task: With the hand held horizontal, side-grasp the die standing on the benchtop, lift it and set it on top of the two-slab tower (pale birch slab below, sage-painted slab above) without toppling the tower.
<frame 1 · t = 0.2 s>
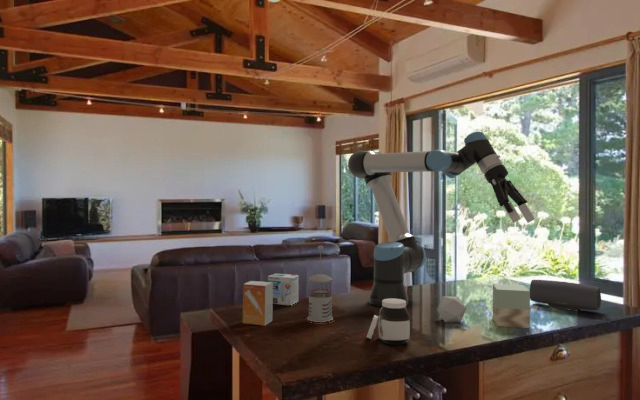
hand: (524, 220, 157), 34 cm above the counter, tool tilted 30°, fingers open, 13 cm apart
die: (451, 321, 154), on the counter
tower base: (510, 323, 153), on the counter, touching tower top
small box: (257, 323, 151), on the counter
spread jar: (386, 341, 133), on the counter
light bulb box: (283, 303, 179), on the counter
tower top: (510, 305, 152), point 6 cm above the counter, touching tower base
bluetooth speaker: (564, 308, 173), on the counter
french press: (321, 319, 156), on the counter
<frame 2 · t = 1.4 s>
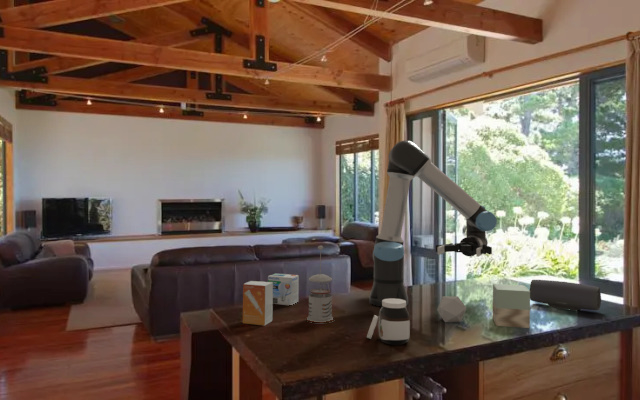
hand: (457, 251, 162), 22 cm above the counter, tool horizontal, fingers open, 13 cm apart
nothing on the counter moved.
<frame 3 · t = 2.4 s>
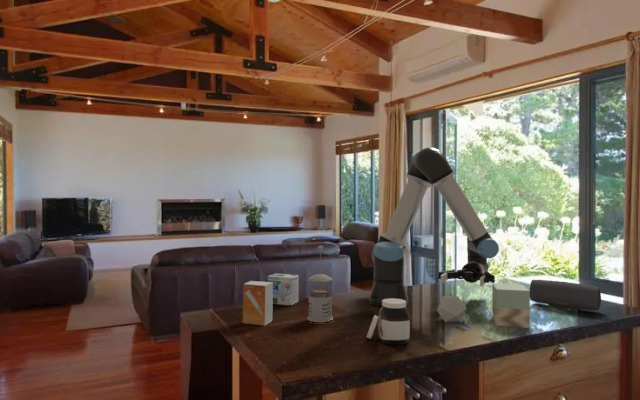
hand: (461, 280, 163), 12 cm above the counter, tool horizontal, fingers open, 13 cm apart
nothing on the counter moved.
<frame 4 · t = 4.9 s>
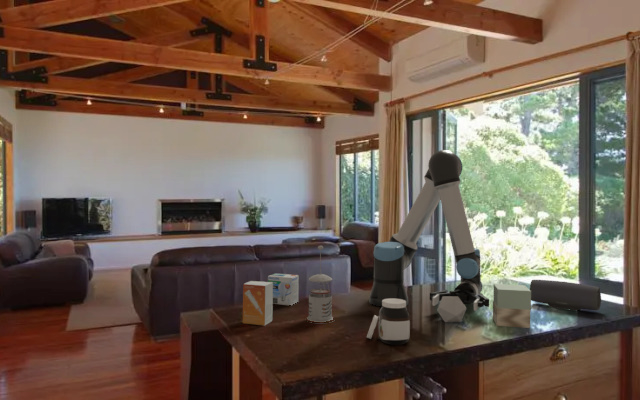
hand: (453, 304, 153), 6 cm above the counter, tool horizontal, fingers open, 13 cm apart
nothing on the counter moved.
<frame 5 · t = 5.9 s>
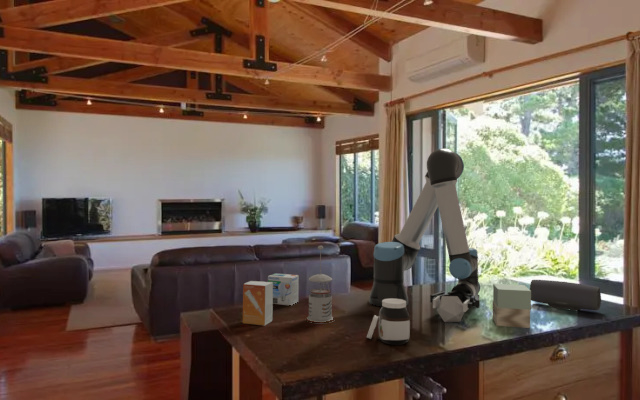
hand: (448, 305, 150), 6 cm above the counter, tool horizontal, fingers open, 9 cm apart
die: (450, 321, 154), on the counter, touching gripper
everything else where it was.
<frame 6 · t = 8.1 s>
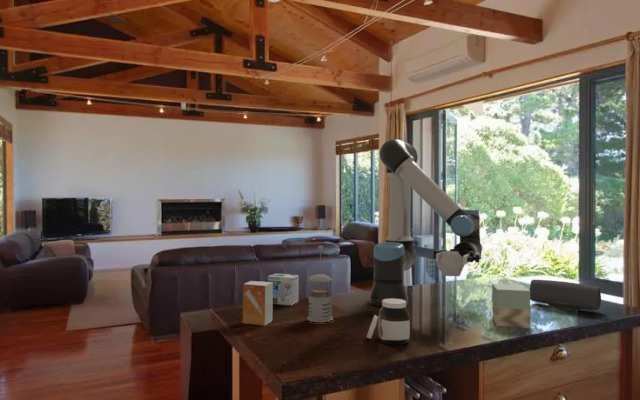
hand: (450, 259, 150), 21 cm above the counter, tool horizontal, fingers closed on die, 8 cm apart
die: (450, 275, 154), point 15 cm above the counter, touching gripper
everything else where it was.
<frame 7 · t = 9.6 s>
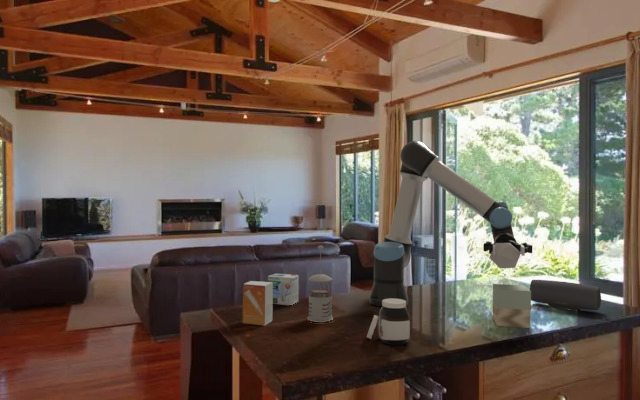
hand: (508, 250, 148), 24 cm above the counter, tool horizontal, fingers closed on die, 8 cm apart
die: (505, 268, 152), point 18 cm above the counter, touching gripper
everything else where it was.
when the fingers open (19 cm above the counter, at t = 11.2 s): die drops 2 cm, resting on tower top.
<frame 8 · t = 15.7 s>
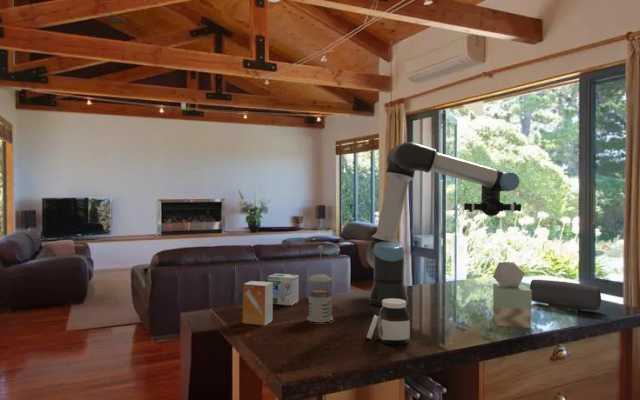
hand: (492, 207, 167), 38 cm above the counter, tool horizontal, fingers open, 13 cm apart
die: (508, 287, 153), point 12 cm above the counter, touching tower top
tower top: (511, 304, 153), point 6 cm above the counter, touching die, tower base
everything else where it was.
at the end: die inside the target area on the tower base (1.0 cm from its centre), point 11.8 cm above the tower base's base; tower top tilted 0°; the gripper is holding nothing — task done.
